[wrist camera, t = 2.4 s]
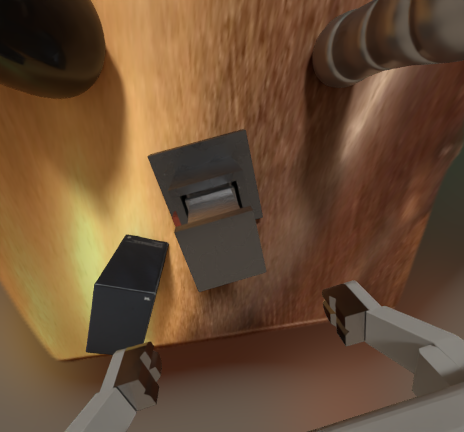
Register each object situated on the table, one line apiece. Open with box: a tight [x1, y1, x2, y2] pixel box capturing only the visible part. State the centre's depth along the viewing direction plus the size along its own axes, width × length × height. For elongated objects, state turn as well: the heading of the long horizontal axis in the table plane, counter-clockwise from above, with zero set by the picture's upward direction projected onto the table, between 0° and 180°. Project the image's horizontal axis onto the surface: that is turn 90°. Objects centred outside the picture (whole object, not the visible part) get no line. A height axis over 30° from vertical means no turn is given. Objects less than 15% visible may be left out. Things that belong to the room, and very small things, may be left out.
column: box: [174, 182, 266, 292], centre depth 22 cm, size 5×5×15 cm
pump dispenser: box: [0, 0, 105, 99], centre depth 15 cm, size 10×10×15 cm
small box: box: [86, 235, 169, 355], centre depth 29 cm, size 11×6×10 cm, turn 161°
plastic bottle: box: [312, 0, 464, 88], centre depth 17 cm, size 6×7×20 cm
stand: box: [148, 129, 263, 227], centre depth 26 cm, size 12×12×10 cm
